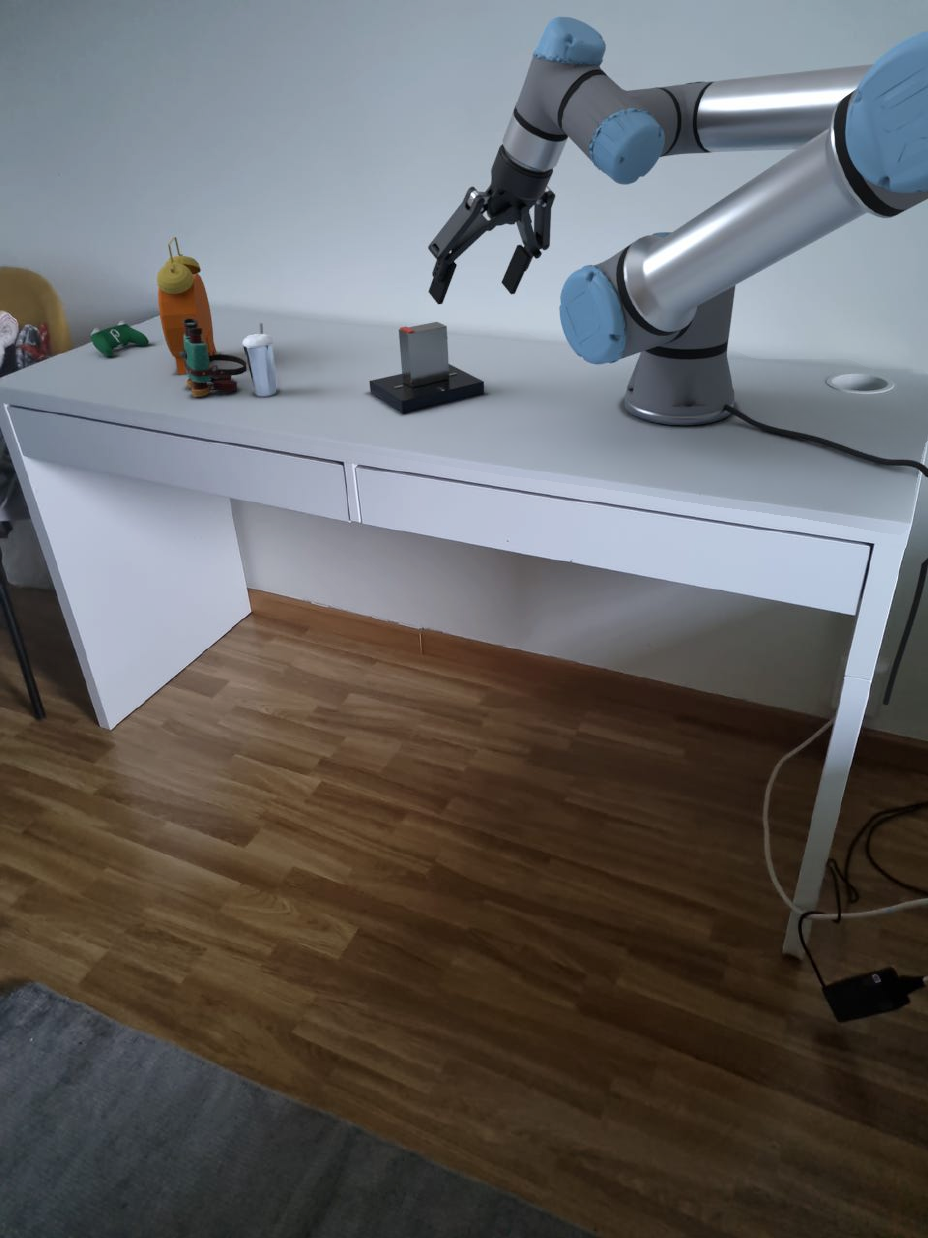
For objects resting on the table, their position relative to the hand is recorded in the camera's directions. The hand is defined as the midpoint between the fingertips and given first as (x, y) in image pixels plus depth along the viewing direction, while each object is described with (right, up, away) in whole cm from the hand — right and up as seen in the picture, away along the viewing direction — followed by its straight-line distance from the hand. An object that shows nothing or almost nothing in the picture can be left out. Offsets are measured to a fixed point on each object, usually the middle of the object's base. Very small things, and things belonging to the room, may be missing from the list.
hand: (472, 292), depth 130 cm
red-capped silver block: (-7, -11, +5) cm, 14 cm away
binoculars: (-41, -11, +13) cm, 44 cm away
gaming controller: (-64, +1, +33) cm, 72 cm away
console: (-7, -13, +6) cm, 16 cm away
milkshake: (-32, -12, +10) cm, 36 cm away
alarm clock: (-47, -4, +24) cm, 53 cm away
